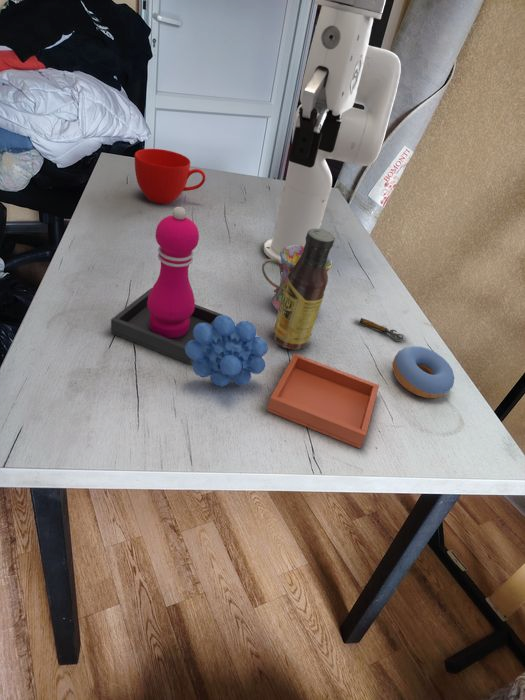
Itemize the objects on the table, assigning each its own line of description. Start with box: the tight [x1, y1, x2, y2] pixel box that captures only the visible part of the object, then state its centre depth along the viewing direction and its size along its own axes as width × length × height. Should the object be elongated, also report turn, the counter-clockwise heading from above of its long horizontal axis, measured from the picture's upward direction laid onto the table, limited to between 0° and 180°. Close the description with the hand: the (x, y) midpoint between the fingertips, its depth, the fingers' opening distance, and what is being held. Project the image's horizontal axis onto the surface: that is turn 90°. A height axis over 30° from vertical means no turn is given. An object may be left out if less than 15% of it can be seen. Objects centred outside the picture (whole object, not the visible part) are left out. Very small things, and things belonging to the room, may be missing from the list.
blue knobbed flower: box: [185, 314, 269, 388], centre depth 65 cm, size 12×7×12 cm, turn 102°
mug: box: [261, 245, 333, 312], centre depth 86 cm, size 12×9×11 cm
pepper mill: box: [147, 206, 200, 338], centre depth 71 cm, size 7×7×20 cm
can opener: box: [359, 317, 406, 342], centre depth 88 cm, size 9×2×1 cm, turn 60°
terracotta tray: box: [266, 353, 380, 449], centre depth 69 cm, size 12×14×3 cm
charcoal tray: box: [110, 287, 224, 365], centre depth 76 cm, size 12×14×3 cm
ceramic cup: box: [134, 148, 206, 205], centre depth 116 cm, size 13×17×10 cm
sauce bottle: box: [272, 228, 336, 351], centre depth 75 cm, size 6×6×20 cm
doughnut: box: [392, 345, 455, 399], centre depth 77 cm, size 10×10×5 cm
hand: (311, 156), depth 62 cm, fingers open, 9 cm apart
